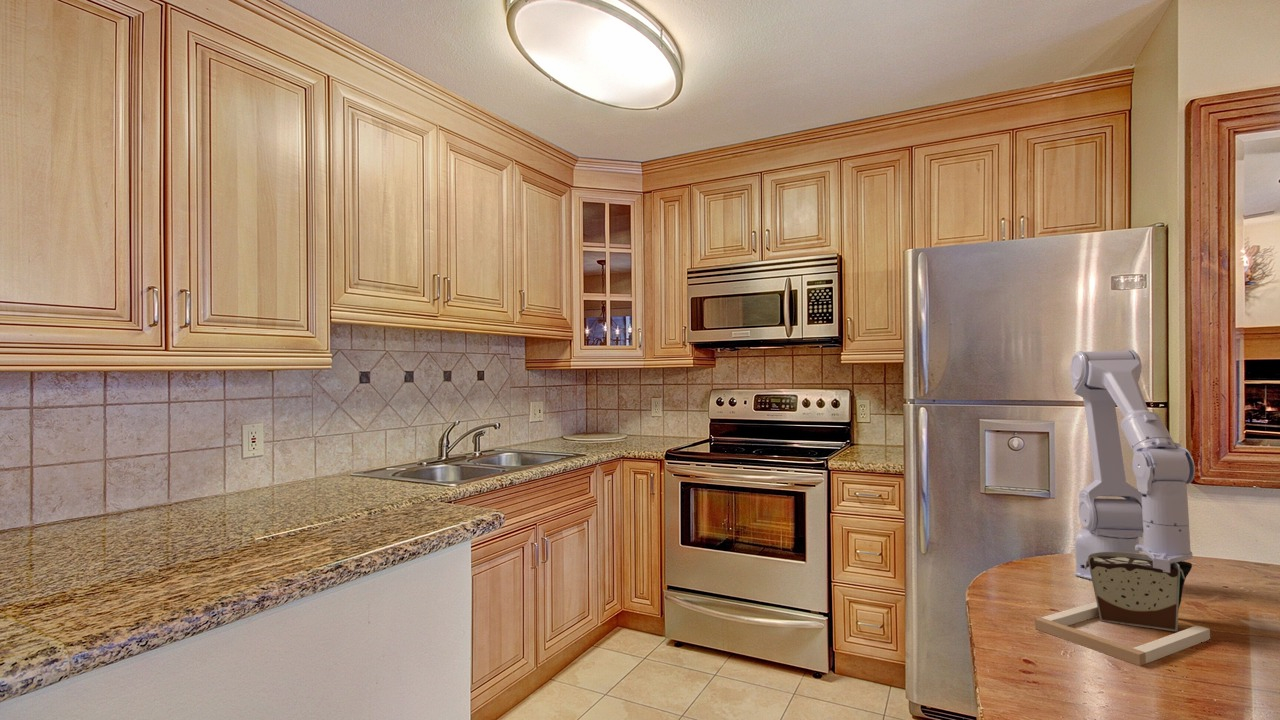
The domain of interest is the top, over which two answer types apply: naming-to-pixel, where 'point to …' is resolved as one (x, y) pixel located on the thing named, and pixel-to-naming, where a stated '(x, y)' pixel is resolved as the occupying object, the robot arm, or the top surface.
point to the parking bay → (1137, 655)
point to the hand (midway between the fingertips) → (1170, 607)
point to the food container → (1135, 590)
